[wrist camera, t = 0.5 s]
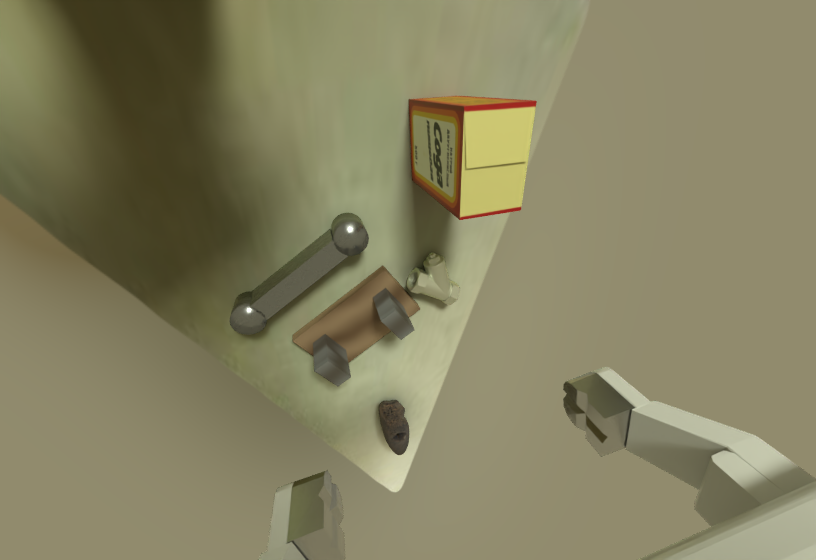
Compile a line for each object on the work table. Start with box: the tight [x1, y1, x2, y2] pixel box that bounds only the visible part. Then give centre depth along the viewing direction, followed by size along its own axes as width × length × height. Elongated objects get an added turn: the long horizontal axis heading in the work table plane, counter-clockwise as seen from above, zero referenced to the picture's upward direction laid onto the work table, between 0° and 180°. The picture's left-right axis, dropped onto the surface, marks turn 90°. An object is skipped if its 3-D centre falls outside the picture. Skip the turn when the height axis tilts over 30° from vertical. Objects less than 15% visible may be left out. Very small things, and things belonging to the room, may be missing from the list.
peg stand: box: [293, 266, 420, 386], centre depth 49 cm, size 10×18×8 cm, turn 125°
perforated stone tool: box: [379, 400, 409, 455], centre depth 65 cm, size 15×5×7 cm, turn 5°
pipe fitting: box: [407, 253, 460, 305], centre depth 51 cm, size 8×4×7 cm
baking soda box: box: [409, 96, 536, 220], centre depth 35 cm, size 10×6×16 cm
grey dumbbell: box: [230, 213, 369, 335], centre depth 43 cm, size 4×22×4 cm, turn 125°
